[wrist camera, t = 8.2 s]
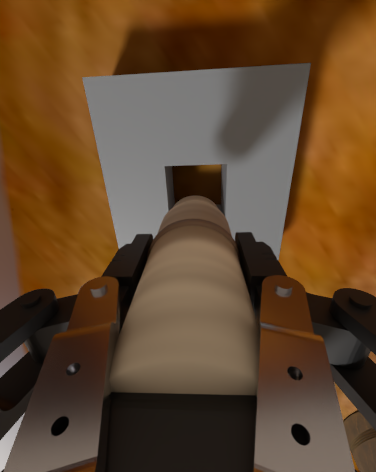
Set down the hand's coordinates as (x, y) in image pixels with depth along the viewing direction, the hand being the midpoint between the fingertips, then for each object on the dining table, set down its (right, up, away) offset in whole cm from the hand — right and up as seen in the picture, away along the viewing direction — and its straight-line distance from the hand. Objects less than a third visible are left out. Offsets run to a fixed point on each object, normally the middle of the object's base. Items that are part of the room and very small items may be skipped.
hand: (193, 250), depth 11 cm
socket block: (+1, +7, +13) cm, 14 cm away
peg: (0, +2, +3) cm, 4 cm away
